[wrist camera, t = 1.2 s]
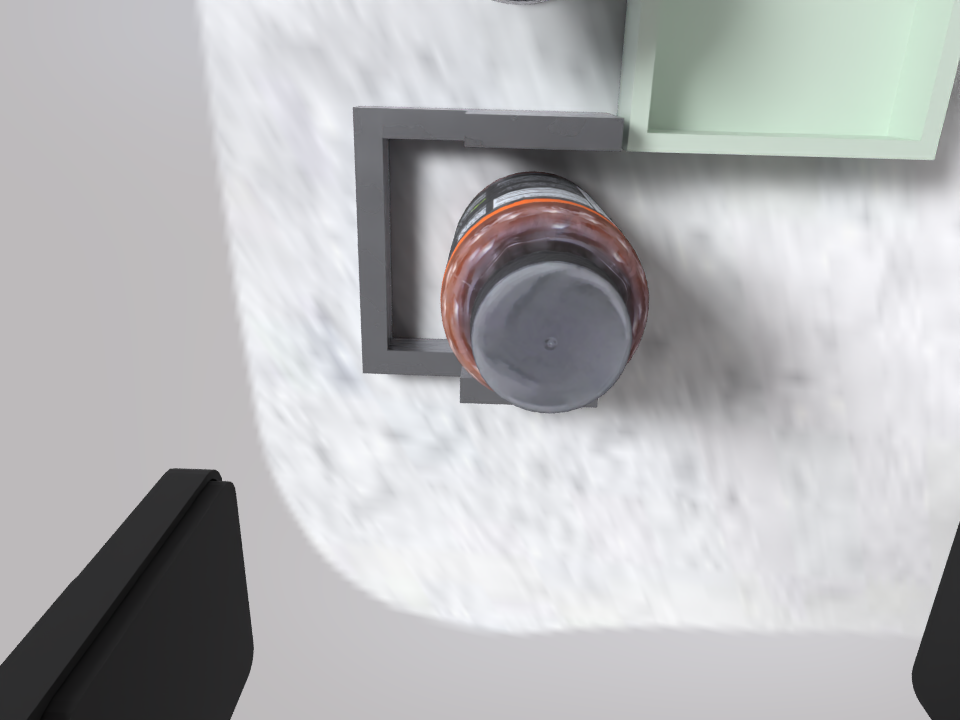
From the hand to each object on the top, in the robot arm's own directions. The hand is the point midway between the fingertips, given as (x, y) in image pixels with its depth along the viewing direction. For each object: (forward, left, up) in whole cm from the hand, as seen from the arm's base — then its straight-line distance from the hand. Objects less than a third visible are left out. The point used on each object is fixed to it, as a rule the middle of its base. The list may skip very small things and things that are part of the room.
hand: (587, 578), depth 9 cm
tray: (-8, -9, -20) cm, 23 cm away
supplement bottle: (0, 0, -20) cm, 20 cm away
